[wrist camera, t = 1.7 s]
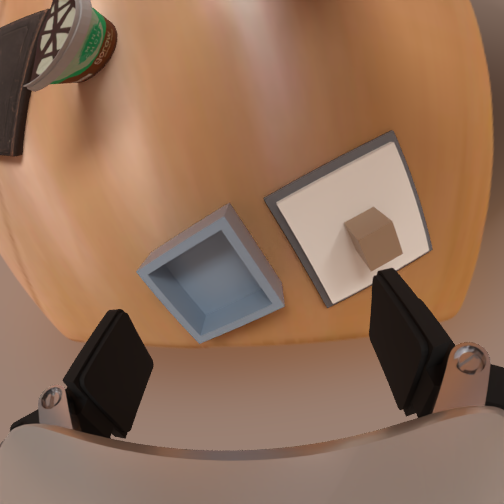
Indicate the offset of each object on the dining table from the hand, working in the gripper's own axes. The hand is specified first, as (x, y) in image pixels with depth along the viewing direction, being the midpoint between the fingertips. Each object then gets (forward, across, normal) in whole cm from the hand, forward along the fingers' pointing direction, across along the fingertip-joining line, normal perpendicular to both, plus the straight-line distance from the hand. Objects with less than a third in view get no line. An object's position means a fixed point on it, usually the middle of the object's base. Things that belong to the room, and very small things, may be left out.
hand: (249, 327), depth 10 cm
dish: (+22, +7, +8) cm, 24 cm away
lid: (+22, -12, +6) cm, 25 cm away
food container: (+22, +14, -23) cm, 35 cm away
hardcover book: (+23, +34, -29) cm, 50 cm away
